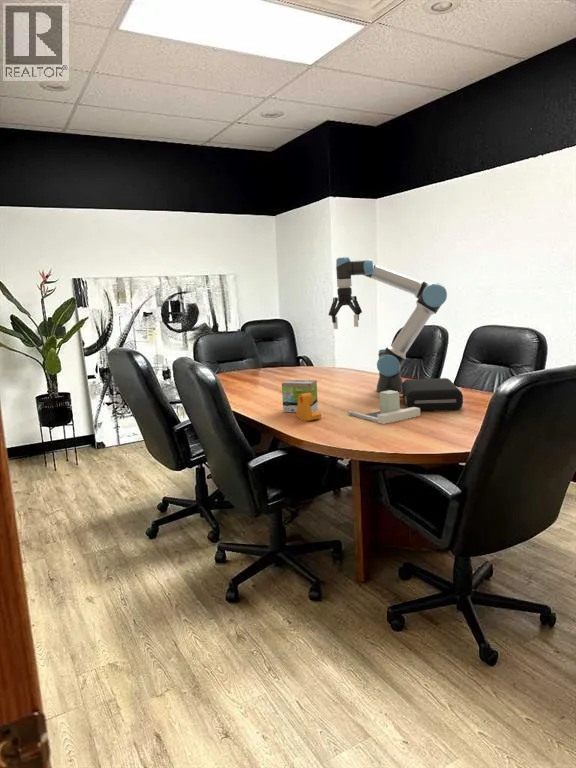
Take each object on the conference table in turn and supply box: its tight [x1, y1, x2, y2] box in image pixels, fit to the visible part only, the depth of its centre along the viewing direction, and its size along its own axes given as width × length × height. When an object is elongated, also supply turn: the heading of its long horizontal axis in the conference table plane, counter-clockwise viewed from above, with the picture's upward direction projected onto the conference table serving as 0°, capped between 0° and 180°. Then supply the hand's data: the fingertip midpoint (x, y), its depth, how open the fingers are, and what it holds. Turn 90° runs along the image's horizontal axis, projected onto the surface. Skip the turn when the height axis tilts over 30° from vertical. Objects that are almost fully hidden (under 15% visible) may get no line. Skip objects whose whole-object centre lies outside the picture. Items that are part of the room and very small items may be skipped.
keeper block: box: [379, 390, 401, 414], centre depth 241 cm, size 6×6×11 cm
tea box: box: [281, 379, 319, 413], centre depth 264 cm, size 15×10×15 cm
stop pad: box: [365, 411, 380, 418], centre depth 245 cm, size 16×15×1 cm
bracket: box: [295, 393, 322, 422], centre depth 247 cm, size 11×7×12 cm, turn 29°
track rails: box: [347, 407, 403, 423], centre depth 247 cm, size 21×21×2 cm
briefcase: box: [399, 377, 464, 412], centre depth 263 cm, size 36×32×10 cm
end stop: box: [376, 407, 421, 425], centre depth 237 cm, size 21×4×4 cm, turn 121°
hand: (346, 327), depth 289 cm, fingers open, 13 cm apart
